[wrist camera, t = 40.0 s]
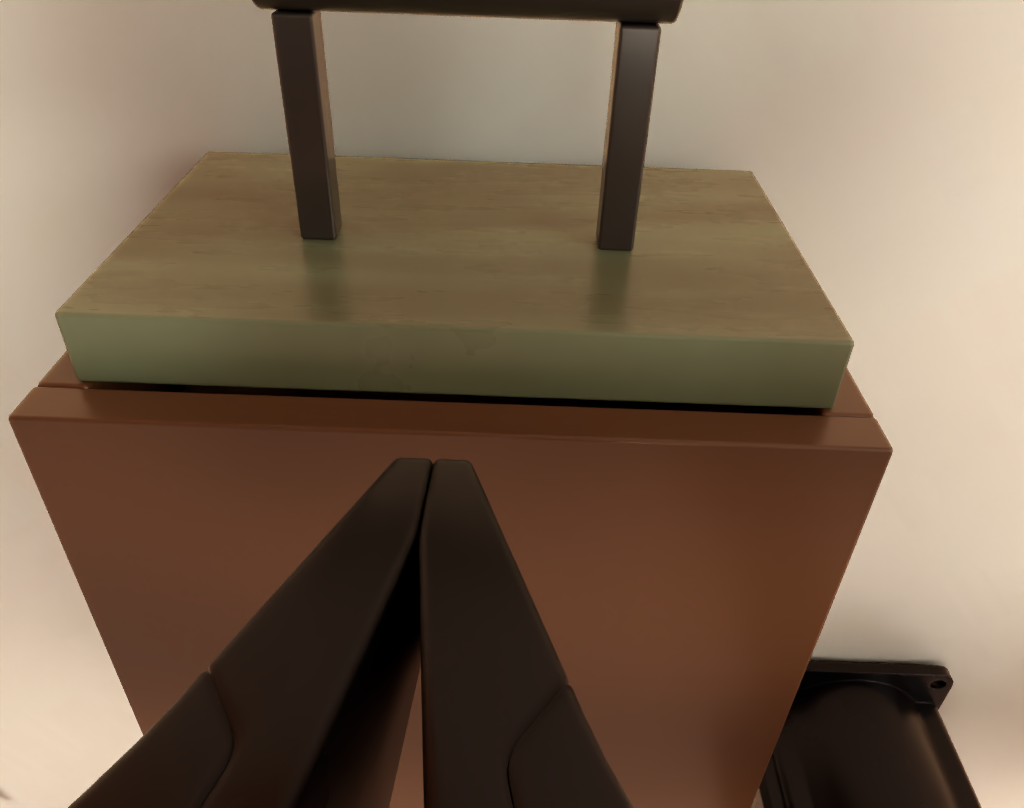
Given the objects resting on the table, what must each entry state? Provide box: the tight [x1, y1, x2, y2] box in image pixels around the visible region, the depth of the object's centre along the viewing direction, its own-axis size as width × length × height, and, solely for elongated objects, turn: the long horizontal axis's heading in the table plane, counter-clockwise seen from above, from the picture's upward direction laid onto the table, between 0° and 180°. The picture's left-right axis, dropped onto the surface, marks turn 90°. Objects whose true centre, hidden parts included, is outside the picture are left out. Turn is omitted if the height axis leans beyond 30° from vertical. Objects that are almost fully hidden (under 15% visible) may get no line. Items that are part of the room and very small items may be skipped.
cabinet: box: [9, 351, 892, 808], centre depth 19 cm, size 14×13×9 cm
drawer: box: [55, 0, 854, 413], centre depth 16 cm, size 17×11×7 cm, turn 178°
